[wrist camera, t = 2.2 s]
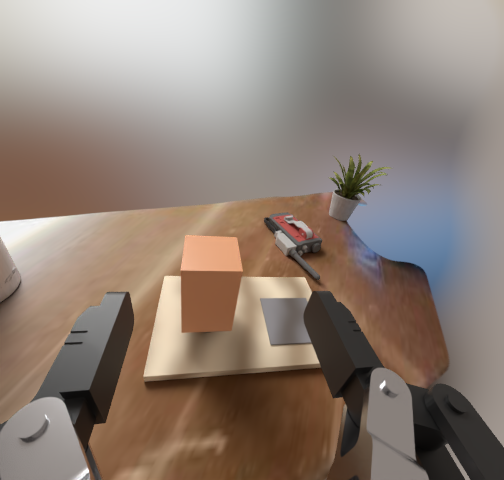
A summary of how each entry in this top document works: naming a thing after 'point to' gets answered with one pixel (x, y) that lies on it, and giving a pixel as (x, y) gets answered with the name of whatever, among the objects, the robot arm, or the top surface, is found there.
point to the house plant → (350, 190)
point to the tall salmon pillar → (209, 283)
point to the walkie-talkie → (294, 238)
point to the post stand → (235, 333)
